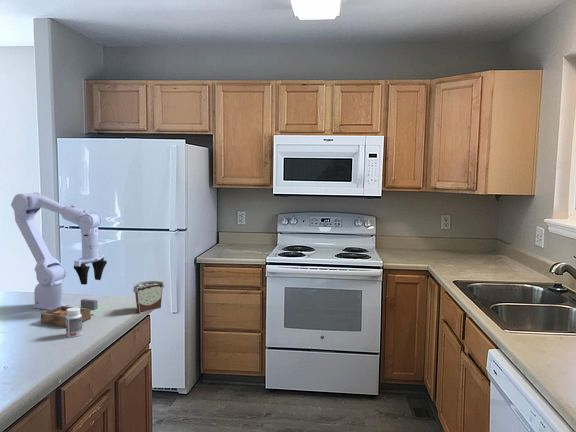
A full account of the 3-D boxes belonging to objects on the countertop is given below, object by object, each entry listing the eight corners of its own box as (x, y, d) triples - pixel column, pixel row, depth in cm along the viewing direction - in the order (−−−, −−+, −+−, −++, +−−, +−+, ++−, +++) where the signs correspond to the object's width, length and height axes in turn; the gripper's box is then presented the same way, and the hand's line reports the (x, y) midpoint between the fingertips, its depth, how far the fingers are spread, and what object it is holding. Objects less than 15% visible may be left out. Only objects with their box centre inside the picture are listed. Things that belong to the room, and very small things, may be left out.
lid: (65, 313, 176) (64, 302, 176) (85, 305, 186) (84, 295, 186) (93, 317, 173) (93, 305, 172) (112, 309, 183) (112, 298, 182)
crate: (40, 323, 163) (40, 313, 162) (62, 315, 172) (62, 305, 172) (70, 327, 159) (69, 317, 159) (90, 318, 169) (90, 309, 168)
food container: (154, 304, 188) (154, 279, 187) (164, 307, 184) (164, 281, 183) (126, 310, 179) (126, 284, 178) (136, 314, 175) (135, 287, 174)
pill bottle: (85, 333, 154) (85, 307, 153) (75, 338, 150) (74, 311, 149) (73, 331, 155) (72, 306, 155) (62, 336, 151) (61, 310, 150)
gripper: (85, 249, 169) (86, 287, 171) (112, 243, 183) (112, 278, 184) (69, 248, 171) (70, 285, 173) (96, 242, 185) (97, 277, 187)
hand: (91, 281), depth 179 cm, fingers open, 7 cm apart
